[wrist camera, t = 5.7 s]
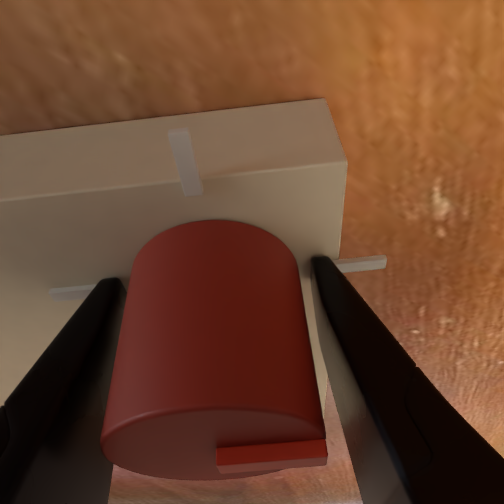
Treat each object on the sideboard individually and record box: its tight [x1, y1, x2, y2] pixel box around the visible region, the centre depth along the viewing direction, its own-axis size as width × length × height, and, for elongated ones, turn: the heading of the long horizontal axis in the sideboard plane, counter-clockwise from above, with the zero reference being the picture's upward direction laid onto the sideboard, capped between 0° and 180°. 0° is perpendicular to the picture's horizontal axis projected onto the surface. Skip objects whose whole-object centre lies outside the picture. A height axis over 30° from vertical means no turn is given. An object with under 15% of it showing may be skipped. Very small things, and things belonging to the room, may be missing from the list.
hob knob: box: [100, 220, 328, 480], centre depth 9 cm, size 4×4×4 cm
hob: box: [0, 98, 387, 419], centre depth 14 cm, size 17×14×3 cm
